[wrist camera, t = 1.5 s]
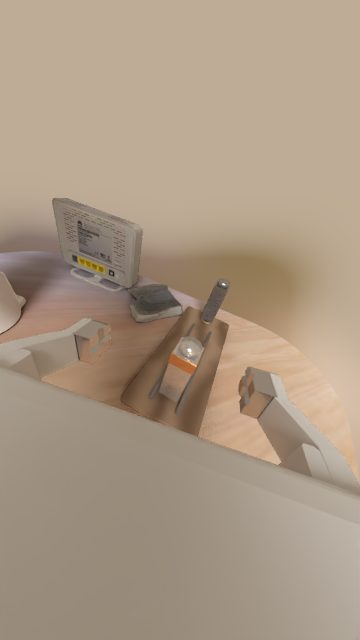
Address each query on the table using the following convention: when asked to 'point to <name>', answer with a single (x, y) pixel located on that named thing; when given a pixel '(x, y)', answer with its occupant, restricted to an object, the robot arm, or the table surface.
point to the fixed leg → (215, 300)
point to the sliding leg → (181, 367)
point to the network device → (98, 243)
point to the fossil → (154, 303)
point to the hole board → (198, 388)
